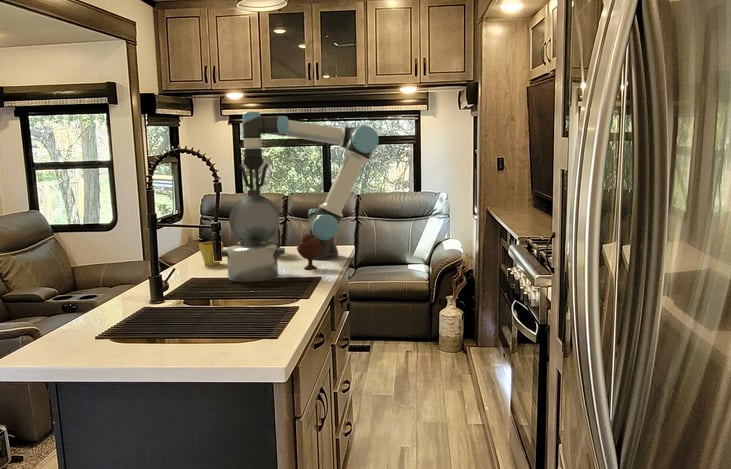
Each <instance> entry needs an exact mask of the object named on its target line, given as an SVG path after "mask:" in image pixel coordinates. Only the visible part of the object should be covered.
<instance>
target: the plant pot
mask: <svg viewBox="0 0 731 469" xmlns="http://www.w3.org/2000/svg"><path fill="white" fill-rule="evenodd" d="M212 242H213V241H206V242H205V241H204V242H201V243H199V244H198V246H199V252H201V257H202V260H203V263H204V265H205V266H209V267H211V266H218V265H220V264H221V261H220V262H214V261H213V244H212ZM220 242H221V247H222V250H224V242H222V241H220Z"/></svg>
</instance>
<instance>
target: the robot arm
mask: <svg viewBox="0 0 731 469" xmlns="http://www.w3.org/2000/svg"><path fill="white" fill-rule="evenodd" d="M242 131H243V133H242V134H243V136H242V137H243V148H244V149H243V154H244V158H243V162H242V163H241V164H239V165H238V168H239V170H241V174H242V177H243V181H244V184H245V187H248V188H249V190H260V188H261V187H263V186H264V182H265V180H266V174H267V169H268V167H269V164H268V163H266V162H264V158H263V150H262V145H263V144H262V135H273V136H279V137H280V136H281V137H289V138H294V139H302V140H307V141H308V140H309V141H314V142H318V143H319V142H320V143H327V144H333V145H338V146H339V147H340V148H343V149H344V152H345V157H344V159H343V161H342V163H341V165H340V168H339V170H338V172H337V173H336V176H335V178H334V180H333V183H332V185H331V187H330V189H329V192H328V193H327V196H326V198H325V201H324V202H323V203H322V204H319V205H318V208H310V209H309V210H308V214H307V216H308V234H311V235H313V236H314V238H317V239H318V240H319V241H320V243H321V246H322V247H323V248H322V252H321V254H320V255H319V256H318V257H316V258H314V259H313V260H317V261H318V260H319V261H320V260H321V261H322V260H330V259H331V260H332V259H336V258H338V257H339V250H338V247H337V245H336V242H335V237H336V236H337V234H338V232H339V229H340V224H341V221H342V219H343V218H344V215H343V209H344V207H345V204H346V202H347V200H348V199H349V198H348V197H349V195H350V194H351V191H352V190H353V188H354V184H355V183H356V181H357V178H358V176H359V173H360V172H361V169H362V168H363V166H364V163H366V162H369V161H370V158H371V156H372V154H373V152H374V150H376V148H377V146H378V145H379V142H380V141H379V135H378V132H377V131H376V130H375V129H374V128H373V127H371V126H368V125H365V124H364V125H359V126H353V127H350V126H349V127H348V126H342V127H341V128H340V127H335V126H331V125H330V126H328V125H322V124H316V123H310V122H303V121H297V120H292V119H291V120H290V119H289V118H288V116H285V115H284V116H283V115H276V116H262V115H261V112H259V111H244V112H243V113H242ZM261 167H262V172H261V176H260V173H259V172H260V168H261ZM245 168H247V169H248V173H249V174H248V175H249V179H248V176H247V173H246V169H245ZM253 170H254V171H253ZM254 173H255V174H254ZM254 175H255V187H254ZM260 177H261V178H260Z"/></svg>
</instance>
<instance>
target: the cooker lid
mask: <svg viewBox="0 0 731 469" xmlns="http://www.w3.org/2000/svg"><path fill="white" fill-rule="evenodd" d="M228 219H229V220H228V221H229V223H228V224H229V227H230V229H231V230H230V231H231V232H232V234H234V236H235V237H236V238H237V239H239V241H240V242H236V245H242V244H256V243H264V242H266V244H273V241H268V240H269V239H271V238H272V237H273V236H274V234H275V233H276V231H277V229H278V228H279V226H280V213H279V211H278V208H277V207H276V205H275V204H274V203H273V202H272V200H270V199H269V198H267V197H266V196H263V195H261V190H260V189H259V190H250V189H248V190H247V196H244V197H241V198H240V199H239V200H237V201H236V202H235V203H234V205H233V206H232V208H231V210H230V213H229V218H228Z"/></svg>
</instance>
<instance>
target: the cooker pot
mask: <svg viewBox="0 0 731 469" xmlns="http://www.w3.org/2000/svg"><path fill="white" fill-rule="evenodd" d="M285 249H286V247H280V248H277V246H276V245H274V244H264V243H256V244H248V243H245V244H242V245H237V244H236V245H231V246H229V247H227V248H226V249H223V250H221V254H222V257H221V258H226V259H227V260H226V262H227V276H228V280H229V281H233V282H241V283H244V282H245V283H250V282H251V283H253V282H262V281H263V282H264V281H268V280H272V279H276V278H277V277H278V276H279V267H278V266H279V265H278V256H277V255H279V256H281V255H283V256H284V255H285V252H286V250H285Z"/></svg>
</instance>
